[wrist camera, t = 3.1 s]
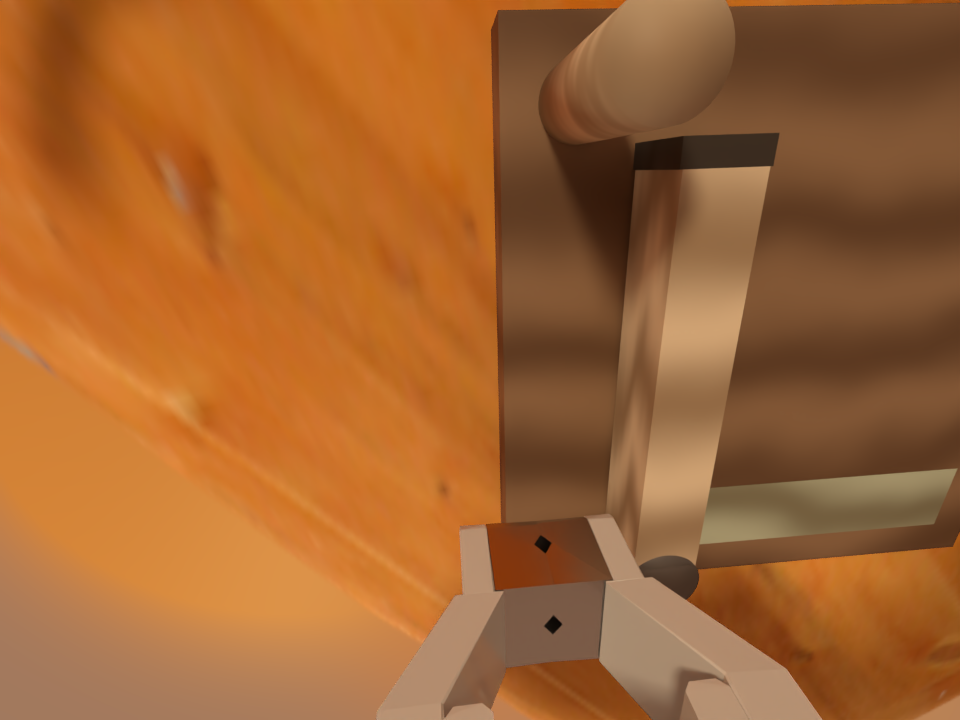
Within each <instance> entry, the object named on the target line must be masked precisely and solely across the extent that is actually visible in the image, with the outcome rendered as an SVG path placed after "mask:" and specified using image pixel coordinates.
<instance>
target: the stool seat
mask: <svg viewBox="0 0 960 720" xmlns="http://www.w3.org/2000/svg"><path fill="white" fill-rule="evenodd" d="M491 45H492V93H493V142H494V191H495V239H496V288H497V337H498V385H499V434H500V483H501V523H511V522H528V521H541V520H552V519H563V518H574V517H584V516H590V515H600V514H606V505H607V493H608V481H609V470H610V458H611V447H612V435H613V424H614V412H615V400H616V389H617V377H618V366H619V354H620V342H621V331H622V319H623V308H624V296H625V285H626V273H627V261H628V250H629V238H630V227H631V215H632V203H633V192H634V180H635V170H633V164H634V152H635V143H639V142H646V141H652V140H659V139H666V138H672V137H679V136H693V135H724V134H754V133H780V134H779V139H778V145H777V150H776V155H775V160H774V166H770V172H769V177H768V182H767V188H766V193H765V198H764V203H763V209H762V214H761V219H760V225H759V230H758V235H757V241H756V246H755V251H754V257H753V262H752V267H751V273H750V278H749V283H748V289H747V294H746V299H745V305H744V310H743V315H742V320H741V326H740V331H739V336H738V342H737V347H736V352H735V358H734V363H733V368H732V374H731V379H730V384H729V390H728V395H727V400H726V406H725V411H724V416H723V422H722V427H721V432H720V437H719V443H718V448H717V453H716V459H715V464H714V469H713V475H712V480H711V485H710V491H709V496H708V501H707V507H706V512H705V517H704V523H703V528H702V533H701V539H700V544H699V549H698V554H697V560H696V565H695V566H696V568H697V569H708V568H719V567H730V566H741V565H752V564H763V563H775V562H786V561H797V560H808V559H819V558H830V557H841V556H853V555H864V554H875V553H886V552H897V551H908V550H919V549H931V548H942V547H953V545H954V543H955V540H956V538H957V536H958V534H959V532H960V3H926V4H863V5H801V6H739V7H729V6H728V4H727V2H726V0H626V1H625V2H624V3H623V4H622V5H621V6H620V7H619V8H614V9H552V10H498V12H497V15H496V18H495V21H494V24H493V26H492V29H491Z"/></svg>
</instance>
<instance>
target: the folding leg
mask: <svg viewBox="0 0 960 720" xmlns="http://www.w3.org/2000/svg"><path fill="white" fill-rule="evenodd" d="M779 134H780V133H754V134H724V135H693V136H679V137H672V138H666V139H659V140H652V141H646V142H639V143H635V152H634V164H633V170H635V180H634V192H633V203H632V215H631V227H630V238H629V250H628V261H627V273H626V285H625V296H624V308H623V319H622V331H621V342H620V354H619V366H618V377H617V389H616V400H615V412H614V424H613V435H612V447H611V458H610V470H609V481H608V493H607V505H606V514H610V515H611V516H613V518H614V520H615V522H616V524H617V526H618V528H619V529H620V531H621V533H622V535H623V537H624V539H625V541H626V543H627V545H628V547H629V549H630V551H631V553H632V554H633V556H634V558H635V560H636V562H637V564H638V566H639V568H640V570H641V572H642V574H643V576H644V578H648V577H653V578H654V579H656V580H657V581H659V582H660V583H662V584H663V585H665V586H666V587H668V588H669V589H671V590H672V591H673V592H675V593H676V594H678V595H679V596H681V597H682V598H684V599H685V600H686V599H687V598H689V597H690V596H691V594H692V593H693V592H694V590H695V589H696V587H697V584H698V580H699V573H698V570H697V568H696V566H695V565H696V560H697V554H698V549H699V544H700V539H701V533H702V528H703V523H704V517H705V512H706V507H707V501H708V496H709V491H710V485H711V480H712V475H713V469H714V464H715V459H716V453H717V448H718V443H719V437H720V432H721V427H722V422H723V416H724V411H725V406H726V400H727V395H728V390H729V384H730V379H731V374H732V368H733V363H734V358H735V352H736V347H737V342H738V336H739V331H740V326H741V320H742V315H743V310H744V305H745V299H746V294H747V289H748V283H749V278H750V273H751V267H752V262H753V257H754V251H755V246H756V241H757V235H758V230H759V225H760V219H761V214H762V209H763V203H764V198H765V193H766V188H767V182H768V177H769V172H770V166H774V160H775V155H776V150H777V145H778V139H779Z"/></svg>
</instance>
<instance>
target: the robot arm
mask: <svg viewBox="0 0 960 720" xmlns="http://www.w3.org/2000/svg"><path fill="white" fill-rule="evenodd" d="M460 550H461V569H462V588H463V595H455V596H454V597H453V599H452V600H451V602H450V603H449V605H448V606H447V608H446V609H445V611H444V612H443V614H442V615H441V617H440V618H439V620H438V621H437V623H436V624H435V626H434V627H433V629H432V630H431V632H430V633H429V635H428V636H427V638H426V639H425V641H424V642H423V644H422V645H421V647H420V648H419V650H418V651H417V653H416V654H415V656H414V657H413V659H412V660H411V661H410V663H409V664H408V666H407V668H406V669H405V670H404V672H403V673H402V675H401V676H400V678H399V679H398V681H397V682H396V684H395V685H394V687H393V688H392V690H391V691H390V693H389V694H388V696H387V697H386V699H385V700H384V702H383V703H382V705H381V706H380V708H379V709H378V711H377V716H376V720H494V715H493V711H492V710H491V707H492V705H493V703H494V700H495V697H496V695H497V693H498V690H499V688H500V685H501V683H502V680H503V678H504V675H505V673H506V668H509V667H517V666H524V665H532V664H539V663H546V662H556V661H570V660H584V659H598V658H599V661H600V663H601V664H602V665H603V666H604V667H605V668H606V669H607V670H608V671H609V672H610V674H611V675H612V676H613V677H614V678H615V679H616V680H617V681H618V682H619V683H620V685H621V686H622V687H623V688H624V689H625V690H626V691H627V692H628V693H629V694H630V696H631V697H632V698H633V699H634V700H635V701H636V702H637V703H638V704H639V706H640V707H641V708H642V709H643V710H644V711H645V712H646V713H647V714H648V715H649V717H650V718H651V719H652V720H822V718H821V717H820V716H819V714H818V713H817V711H816V710H815V709H814V707H813V706H812V704H811V703H810V701H809V700H808V699H807V697H806V696H805V694H804V693H803V692H802V690H801V689H800V687H799V686H798V684H797V683H796V682H795V680H794V679H793V677H792V676H791V675H790V673H789V672H788V670H787V669H786V668H784V667H783V666H782V665H780V664H779V663H777V662H776V661H774V660H773V659H771V658H770V657H768V656H767V655H766V654H764V653H763V652H761V651H760V650H758V649H757V648H755V647H754V646H752V645H751V644H749V643H748V642H747V641H745V640H744V639H742V638H741V637H739V636H738V635H736V634H735V633H733V632H732V631H730V630H729V629H728V628H726V627H725V626H723V625H722V624H720V623H719V622H717V621H716V620H714V619H713V618H711V617H710V616H709V615H707V614H706V613H704V612H703V611H701V610H700V609H698V608H697V607H695V606H694V605H692V604H691V603H690V602H688V601H687V600H685V599H684V598H682V597H681V596H679V595H678V594H676V593H675V592H673V591H672V590H671V589H669V588H668V587H666V586H665V585H663V584H662V583H660V582H659V581H657V580H656V579H654V578H653V577H648V578H644V576H643V574H642V572H641V570H640V568H639V566H638V564H637V562H636V560H635V558H634V556H633V554H632V553H631V551H630V549H629V547H628V545H627V543H626V541H625V539H624V537H623V535H622V533H621V531H620V529H619V528H618V526H617V524H616V522H615V520H614V518H613V516H611V515H610V514H600V515H590V516H584V517H574V518H563V519H552V520H541V521H528V522H511V523H494V524H486V526H485V525H469V526H460Z"/></svg>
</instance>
